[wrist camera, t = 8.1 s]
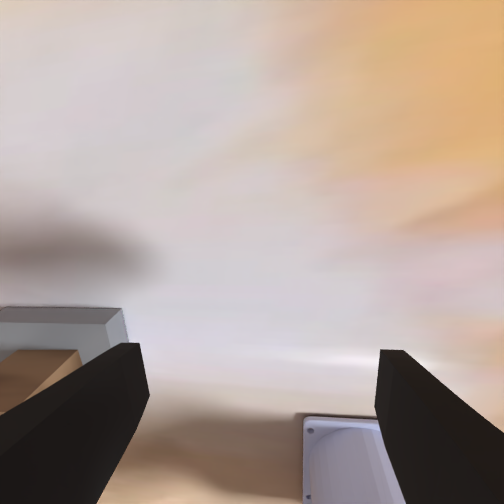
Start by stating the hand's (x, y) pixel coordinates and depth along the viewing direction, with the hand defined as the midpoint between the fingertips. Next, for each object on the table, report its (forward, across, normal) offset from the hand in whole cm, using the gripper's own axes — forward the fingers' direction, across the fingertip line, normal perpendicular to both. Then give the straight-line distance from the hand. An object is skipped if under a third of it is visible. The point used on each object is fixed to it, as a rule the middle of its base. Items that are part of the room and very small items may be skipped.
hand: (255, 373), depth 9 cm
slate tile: (+10, +15, +8) cm, 20 cm away
